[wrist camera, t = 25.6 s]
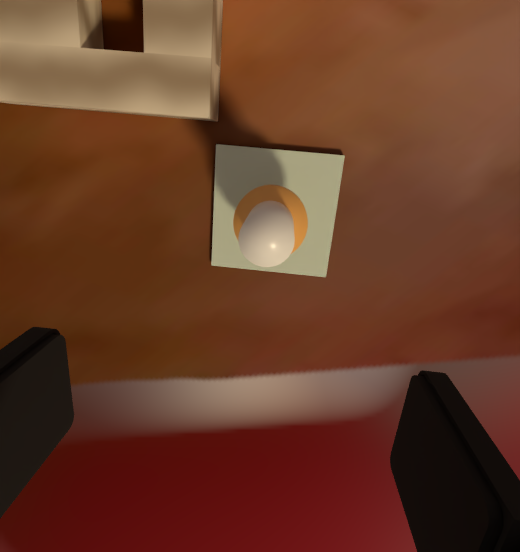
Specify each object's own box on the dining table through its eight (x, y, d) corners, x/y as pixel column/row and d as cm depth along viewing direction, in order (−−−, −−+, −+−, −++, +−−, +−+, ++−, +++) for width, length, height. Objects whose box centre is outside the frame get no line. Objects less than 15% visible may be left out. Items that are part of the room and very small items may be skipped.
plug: (301, 248, 37) (305, 287, 27) (238, 241, 37) (219, 277, 27) (309, 183, 35) (317, 199, 24) (242, 177, 35) (223, 190, 25)
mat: (325, 275, 38) (325, 277, 38) (212, 263, 39) (211, 265, 38) (343, 155, 34) (344, 155, 33) (217, 144, 35) (216, 144, 34)
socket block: (218, 121, 34) (209, 118, 30) (11, 103, 35) (-23, 98, 31) (225, -68, 29) (216, -100, 25) (-15, -83, 30) (-58, -116, 26)
